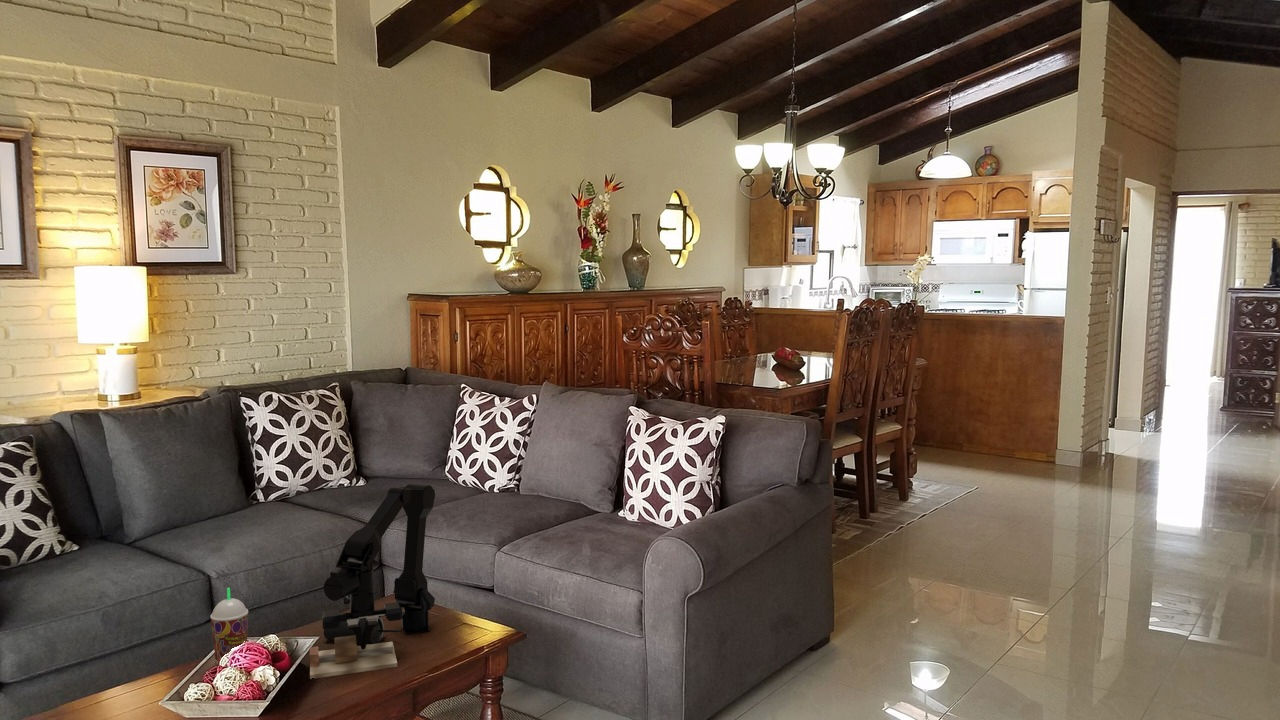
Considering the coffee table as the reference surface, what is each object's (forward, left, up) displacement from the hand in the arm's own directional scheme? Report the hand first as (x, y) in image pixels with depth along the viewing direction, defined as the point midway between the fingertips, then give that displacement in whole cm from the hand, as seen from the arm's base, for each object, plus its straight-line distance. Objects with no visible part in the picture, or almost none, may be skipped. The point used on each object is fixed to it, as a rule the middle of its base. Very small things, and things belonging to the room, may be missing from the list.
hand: (363, 648), depth 221 cm
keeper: (+4, 0, -2) cm, 4 cm away
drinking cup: (+8, -17, 0) cm, 19 cm away
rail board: (+3, 0, -3) cm, 4 cm away
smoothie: (+31, -6, -3) cm, 31 cm away
